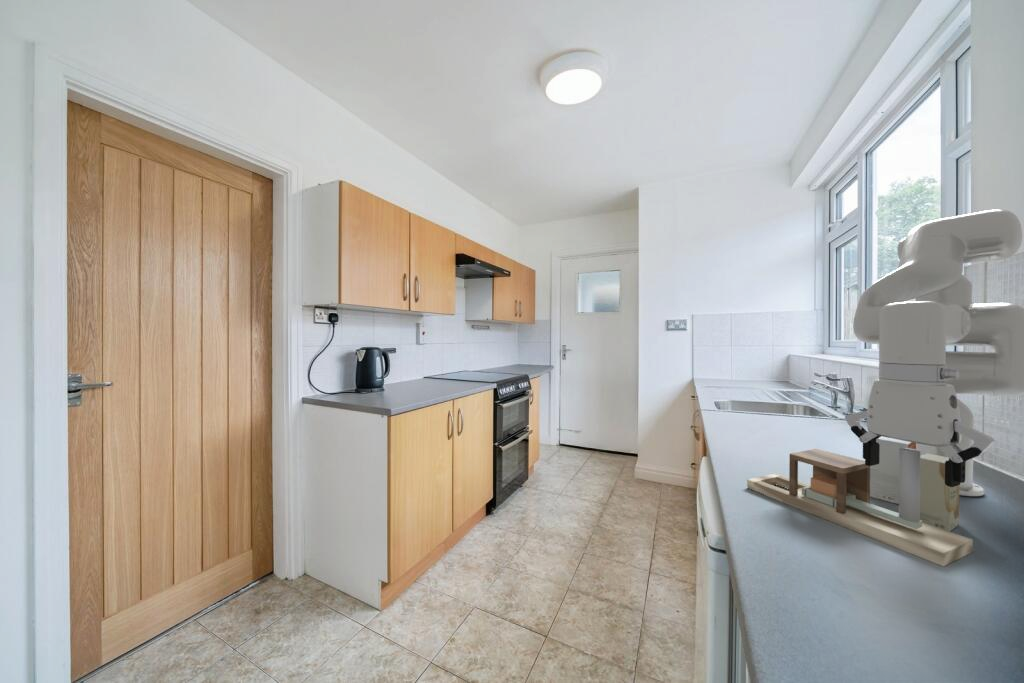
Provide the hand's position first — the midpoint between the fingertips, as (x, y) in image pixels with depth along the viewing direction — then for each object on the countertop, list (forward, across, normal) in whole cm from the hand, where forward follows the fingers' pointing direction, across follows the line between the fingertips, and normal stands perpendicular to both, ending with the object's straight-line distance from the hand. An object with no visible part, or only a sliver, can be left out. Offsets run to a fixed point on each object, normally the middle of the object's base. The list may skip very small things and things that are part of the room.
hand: (909, 474), depth 60 cm
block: (+9, +12, 0) cm, 15 cm away
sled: (+9, +7, 0) cm, 11 cm away
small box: (+12, +10, -20) cm, 25 cm away
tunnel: (+9, +12, 0) cm, 15 cm away
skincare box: (+12, +1, -13) cm, 17 cm away
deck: (+11, +10, 0) cm, 15 cm away
